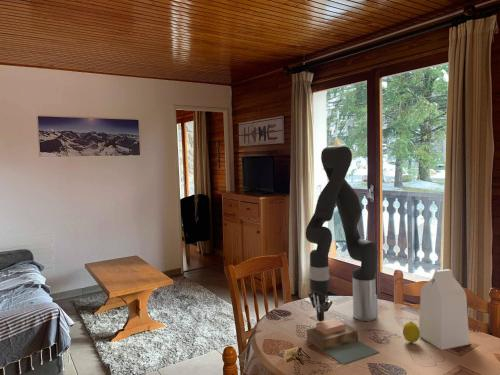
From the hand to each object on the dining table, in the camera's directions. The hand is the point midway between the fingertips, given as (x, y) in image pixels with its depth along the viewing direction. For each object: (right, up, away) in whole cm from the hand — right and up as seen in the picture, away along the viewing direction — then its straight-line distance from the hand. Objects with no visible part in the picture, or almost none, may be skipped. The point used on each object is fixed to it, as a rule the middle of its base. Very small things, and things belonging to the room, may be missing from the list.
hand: (320, 320), depth 148 cm
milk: (+44, -4, -9) cm, 45 cm away
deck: (+3, -5, -6) cm, 9 cm away
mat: (+8, -6, -15) cm, 18 cm away
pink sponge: (+3, -1, -5) cm, 6 cm away
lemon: (+31, -5, -10) cm, 33 cm away
